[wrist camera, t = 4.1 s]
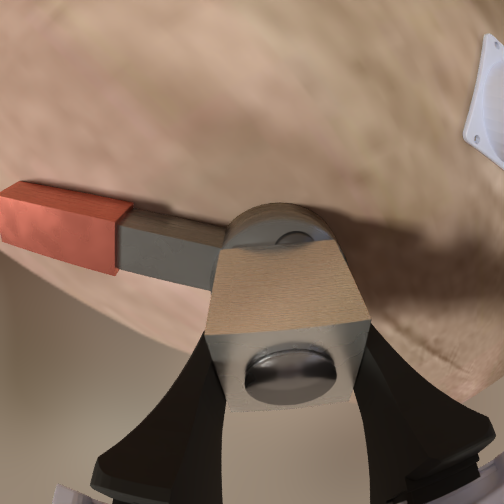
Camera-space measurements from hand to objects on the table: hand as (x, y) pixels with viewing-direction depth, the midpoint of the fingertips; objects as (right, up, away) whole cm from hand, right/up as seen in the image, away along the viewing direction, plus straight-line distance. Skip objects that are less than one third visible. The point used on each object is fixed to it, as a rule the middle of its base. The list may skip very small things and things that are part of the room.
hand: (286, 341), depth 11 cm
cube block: (0, +2, +3) cm, 3 cm away
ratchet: (-7, +5, +4) cm, 9 cm away
